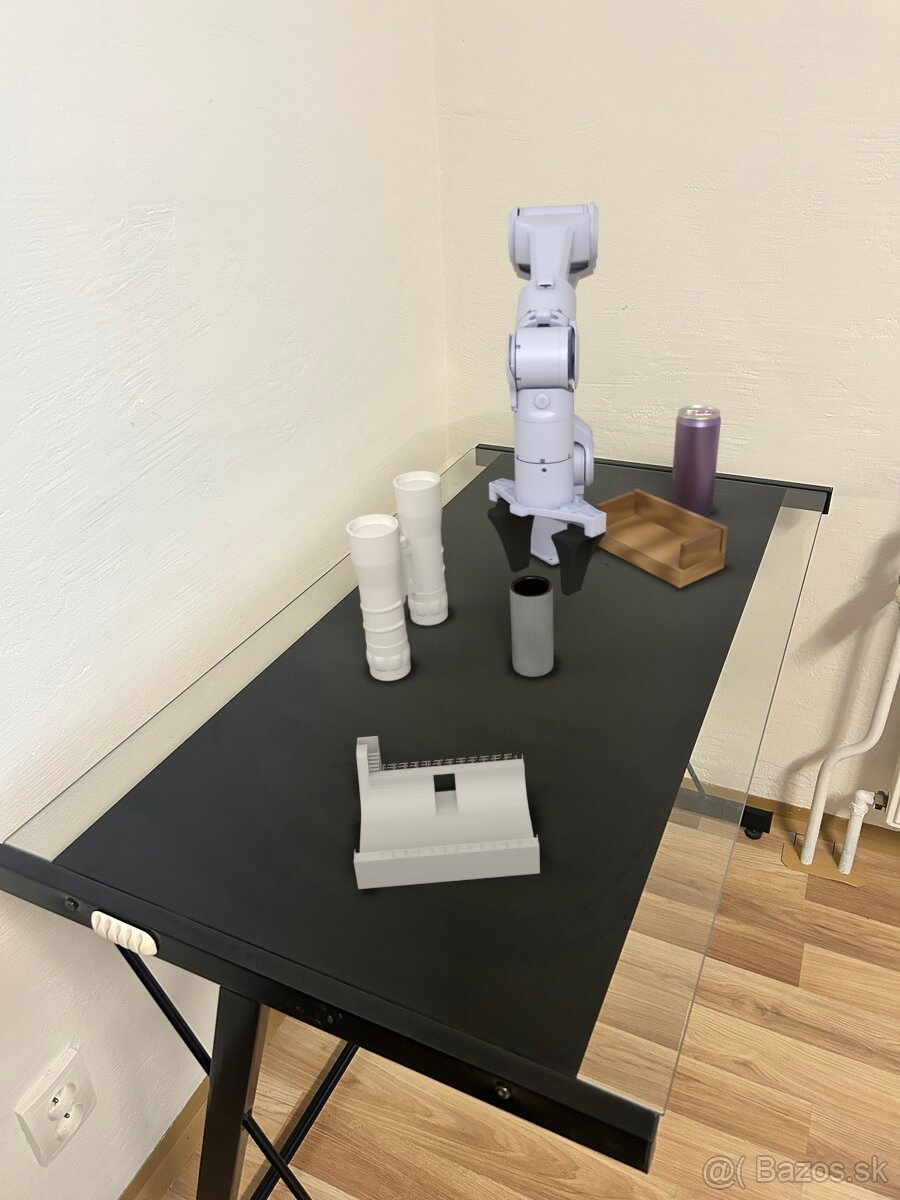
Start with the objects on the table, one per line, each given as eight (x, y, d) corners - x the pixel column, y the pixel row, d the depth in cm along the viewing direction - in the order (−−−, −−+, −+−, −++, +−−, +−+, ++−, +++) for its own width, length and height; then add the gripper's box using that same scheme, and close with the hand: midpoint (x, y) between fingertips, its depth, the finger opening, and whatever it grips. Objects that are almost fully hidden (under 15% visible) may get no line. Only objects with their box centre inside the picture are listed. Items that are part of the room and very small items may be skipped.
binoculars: (417, 601, 112) (404, 468, 102) (457, 606, 110) (447, 472, 100) (358, 678, 98) (336, 534, 89) (403, 686, 96) (385, 539, 87)
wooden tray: (593, 543, 122) (594, 504, 119) (635, 526, 125) (637, 488, 122) (679, 588, 110) (683, 546, 107) (723, 568, 114) (728, 527, 111)
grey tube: (526, 682, 95) (524, 600, 90) (505, 662, 99) (501, 582, 94) (561, 669, 97) (561, 588, 92) (539, 649, 100) (538, 570, 95)
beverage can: (713, 520, 125) (723, 419, 118) (670, 519, 127) (677, 418, 119) (711, 502, 130) (720, 404, 123) (669, 501, 132) (676, 404, 124)
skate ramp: (358, 889, 72) (350, 845, 70) (363, 779, 84) (357, 737, 81) (539, 873, 73) (538, 828, 70) (520, 765, 84) (519, 723, 81)
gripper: (464, 449, 88) (470, 571, 94) (569, 482, 78) (569, 616, 84) (515, 432, 92) (518, 551, 98) (622, 462, 82) (618, 592, 88)
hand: (545, 580), depth 92 cm, fingers open, 7 cm apart
